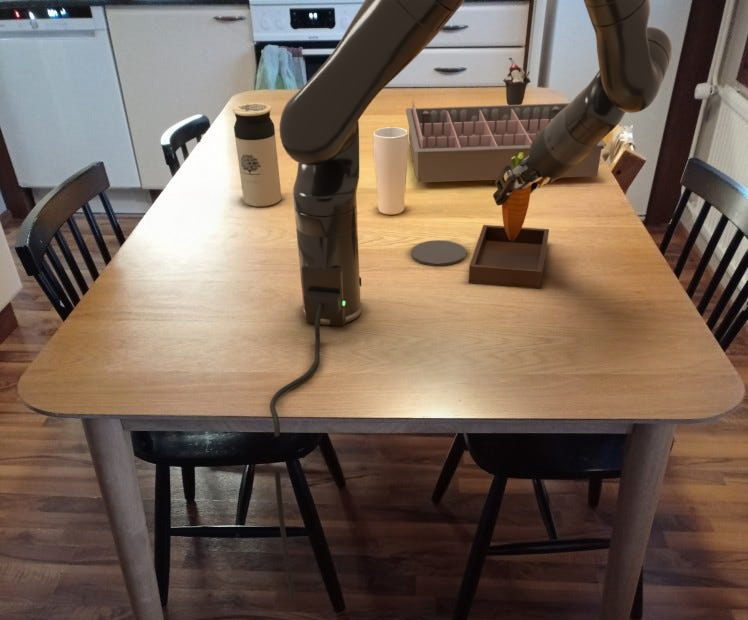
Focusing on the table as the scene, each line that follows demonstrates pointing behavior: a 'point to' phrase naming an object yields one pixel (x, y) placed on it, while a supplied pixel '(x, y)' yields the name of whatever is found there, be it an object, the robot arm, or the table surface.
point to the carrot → (515, 206)
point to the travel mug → (257, 154)
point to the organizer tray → (481, 140)
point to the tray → (509, 257)
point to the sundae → (515, 85)
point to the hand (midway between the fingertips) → (509, 196)
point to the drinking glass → (390, 168)
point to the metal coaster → (438, 253)
